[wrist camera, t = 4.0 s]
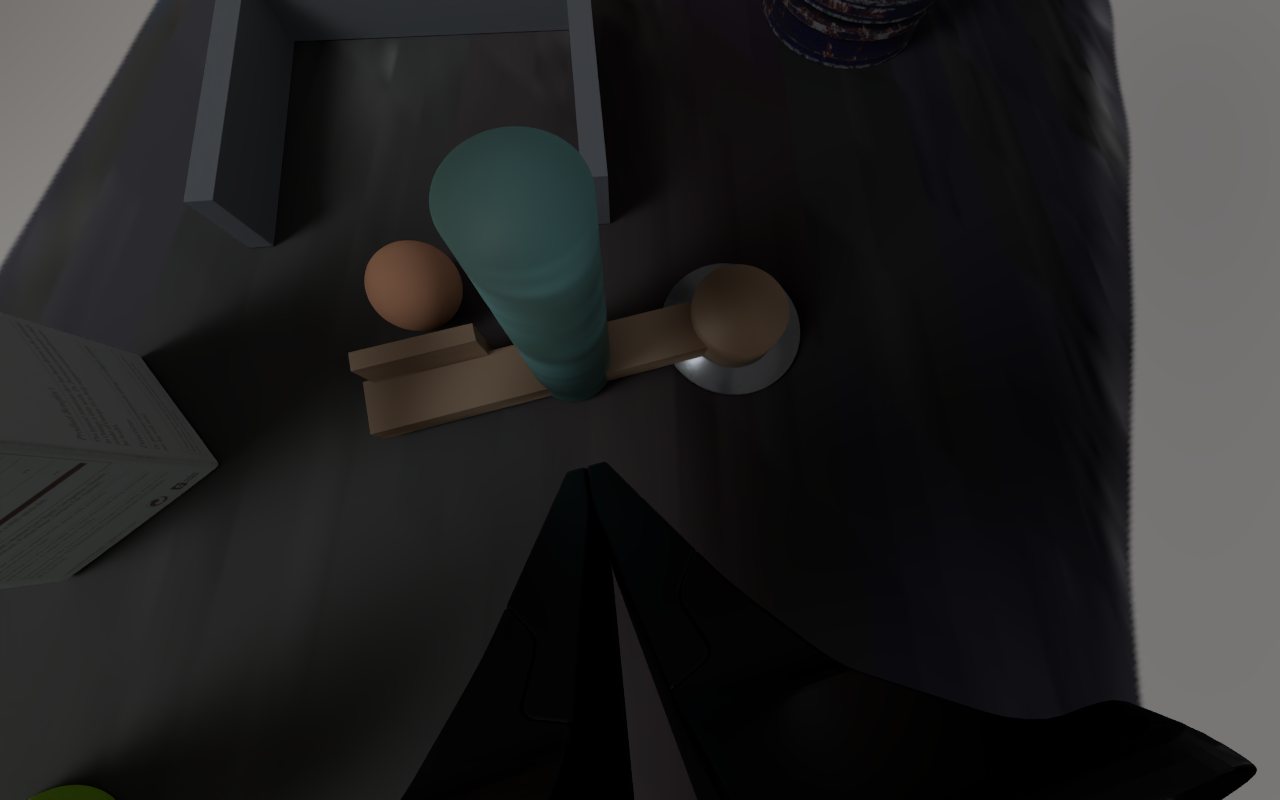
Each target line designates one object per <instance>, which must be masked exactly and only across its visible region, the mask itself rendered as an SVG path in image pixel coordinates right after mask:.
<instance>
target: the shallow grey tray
mask: <svg viewBox="0 0 1280 800" xmlns="http://www.w3.org/2000/svg"><path fill="white" fill-rule="evenodd" d="M549 30H569V31H570V44H571V56H572V68H573V80H574V93H575V105H576V117H577V129H578V142H579V153H580V155H581V156H582V157H583V158H584V160H585V161H586V163H587V165H588V167H589V168H590V171H591V174H592V176H593V180H594V185H595V194H596V205H597V216H598V224H610V210H609V190H608V173H607V163H606V152H605V142H604V132H603V122H602V112H601V101H600V91H599V81H598V71H597V60H596V50H595V40H594V30H593V20H592V9H591V0H216V2H215V8H214V14H213V21H212V27H211V33H210V39H209V45H208V52H207V58H206V64H205V70H204V77H203V83H202V89H201V95H200V102H199V108H198V114H197V120H196V127H195V133H194V139H193V145H192V151H191V158H190V164H189V170H188V176H187V183H186V189H185V195H184V201H183V202H184V203H186V204H187V205H188V206H190V207H191V208H193V209H194V210H196V211H197V212H198V213H200V214H201V215H203V216H204V217H206V218H207V219H208V220H210V221H211V222H213V223H214V224H216V225H217V226H219V227H220V228H221V229H223V230H224V231H226V232H227V233H229V234H230V235H231V236H233V237H234V238H236V239H237V240H239V241H240V242H241V243H243V244H244V245H246V246H247V247H249V248H255V247H270V246H274V238H275V228H276V219H277V209H278V199H279V190H280V180H281V170H282V160H283V151H284V141H285V131H286V122H287V112H288V102H289V93H290V83H291V73H292V63H293V54H294V44H295V41H316V40H339V39H363V38H386V37H409V36H433V35H456V34H479V33H503V32H526V31H549Z"/></svg>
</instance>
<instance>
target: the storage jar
mask: <svg viewBox="0 0 1280 800" xmlns="http://www.w3.org/2000/svg"><path fill="white" fill-rule="evenodd" d="M934 1H935V0H763V7H764V12H765V16H766V18H767V21H768V23H769V25H770V27H771V28H772V30H773V32H774V33H775V34H776V35H777V36H778V38H779V39H780V40H781V41H782V42H783V43H784V44H785V45H787V46H788V47H789V48H790V49H791V50H793V51H794V52H796V53H797V54H799V55H801V56H803V57H805V58H807V59H809V60H811V61H813V62H816V63H819V64H822V65H826V66H831V67H835V68H846V69H854V68H865V67H871V66H874V65H877V64H881V63H883V62H885V61H887V60H889V59H891V58H893V57H894V56H895V55H897V54H898V53H899V52H901V50H902V49H903V48H904V47H905V46H906V45H907V43H908V42H909V40H910V38H911V37H912V35H913V33H914V32H915V30H916V28H917V26H918V23H919V21H920V20H921V19H922V18H923V17H924V15H925V14H926V12H927V10H928V9H929V7H930V5H931V4H932V3H933V2H934Z"/></svg>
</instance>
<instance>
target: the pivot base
mask: <svg viewBox="0 0 1280 800" xmlns="http://www.w3.org/2000/svg"><path fill="white" fill-rule="evenodd" d="M726 265H732V263H720V264H713V265H708V266H705V267H701V268H699V269H697V270H694V271H692V272H691V273H689V274H688V275H686V276H685V277H684V278H682V279H681V280H680V281H679V282H678V283H677V284H676V285H675V286H674V287H673V289H672V290H671V292H670V293H669V295H668V297H667V299H666V301H665V303H664V306H663V308H665V307H669V306H673V305H677V304H681V303H686V302H690V301H693V297H694V294H695V291H696V289H697V287H698V285H699V284H700V282H701V281H702V280H703V279H704V277H705V276H707V275H708V274H709V273H710V272H712V271H714V270H715V269H717V268H720V267H723V266H726ZM782 289H783V288H782ZM784 292H785V291H784ZM785 295H786V297H787V300H788V304H789V320H788V324H787V327H786V329H785V331H784V333H783V335H782V336H781V337H780V338H779V340H778V341H777V342H776V343H775V344H774V345H773V346H772V347H771V349H770V350H769V351H768V352H767V353H766V354H765V355H764V356H763V357H762V358H761V359H759V360H758V361H756V362H755V363H753V364H751V365H748V366H744V367H738V368H729V367H723V366H719V365H716V364H714V363H712V362H710V361H708V360H707V359H705V358H704V357H703V356H702V357H698V358H694V359H690V360H686V361H683V362H679V363H675V364H672V365H673V366H674V367H675V369H676V370H677V371H678V372H679V373H680V374H681V375H682V376H683V377H684V378H685V379H687V380H688V381H689V382H691V383H692V384H694V385H695V386H697V387H699V388H701V389H703V390H706V391H708V392H712V393H715V394H720V395H728V396H739V395H746V394H751V393H754V392H757V391H760V390H762V389H764V388H766V387H768V386H770V385H771V384H773V383H774V382H775V381H777V380H778V379H779V378H780V377H781V376H782V375H783V374H784V373H785V372H786V371H787V369H788V368H789V367H790V365H791V364H792V362H793V360H794V358H795V356H796V353H797V350H798V346H799V341H800V324H799V319H798V315H797V312H796V309H795V307H794V305H793V303H792V301H791V299H790V298H789V296H788V294H787V293H786V292H785Z"/></svg>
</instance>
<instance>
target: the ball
mask: <svg viewBox="0 0 1280 800" xmlns="http://www.w3.org/2000/svg"><path fill="white" fill-rule="evenodd" d="M364 282H365V290H366V294H367V296H368V299H369V301H370V303H371V304H372V306H373V307H374V309H375V310H376V311H377V312H378V314H379V315H381V316H382V317H383V318H384V319H385V320H387V321H388V322H390V323H391V324H393V325H395V326H398V327H400V328H403V329H407V330H413V331H426V330H431V329H435V328H438V327H440V326H442V325H444V324H445V323H447V322H448V321H449V320H450V319H451V318H452V317H453V316H454V315H455V314H456V312H457V311H458V309H459V307H460V304H461V301H462V296H463V285H462V280H461V277H460V274H459V272H458V270H457V268H456V266H455V265H454V263H453V262H452V261H451V259H450V258H449V257H448V256H447V255H446V254H444V253H443V252H442V251H440V250H439V249H437V248H436V247H434V246H432V245H429V244H427V243H424V242H420V241H414V240H403V241H397V242H393V243H390V244H388V245H386V246H384V247H383V248H381V249H380V250H378V251H377V252H376V253H375V254H374V255H373V257H372V258H371V260H370V261H369V263H368V265H367V268H366V272H365V278H364Z"/></svg>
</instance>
